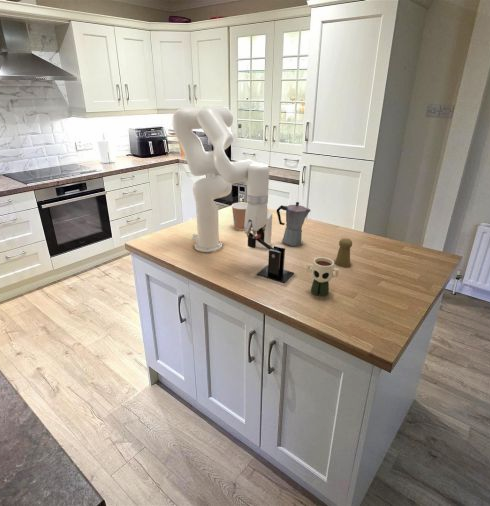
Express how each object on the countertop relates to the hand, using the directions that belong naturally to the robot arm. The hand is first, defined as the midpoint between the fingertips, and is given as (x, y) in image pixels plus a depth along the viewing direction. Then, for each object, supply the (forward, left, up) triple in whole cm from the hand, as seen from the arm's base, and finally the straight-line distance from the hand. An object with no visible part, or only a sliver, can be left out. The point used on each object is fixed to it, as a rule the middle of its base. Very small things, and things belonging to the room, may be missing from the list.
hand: (256, 243), depth 135 cm
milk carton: (-9, +22, -12) cm, 27 cm away
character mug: (+28, -3, -12) cm, 31 cm away
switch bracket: (+9, 0, -12) cm, 15 cm away
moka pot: (+1, +33, -12) cm, 35 cm away
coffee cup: (-29, +37, -12) cm, 48 cm away
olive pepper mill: (+28, +25, -12) cm, 39 cm away
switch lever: (+4, 0, -1) cm, 4 cm away
